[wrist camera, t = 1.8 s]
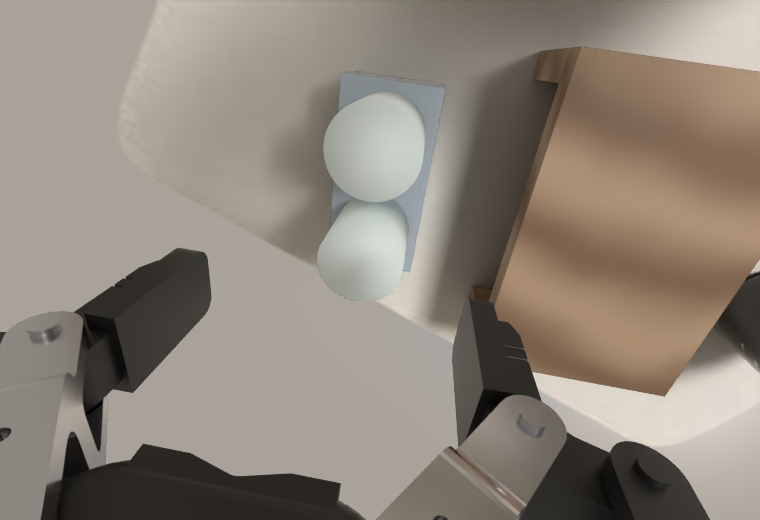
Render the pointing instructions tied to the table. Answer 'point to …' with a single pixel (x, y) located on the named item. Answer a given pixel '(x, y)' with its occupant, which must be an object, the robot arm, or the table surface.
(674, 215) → the walnut shelf
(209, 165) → the table surface
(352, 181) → the salt and pepper set
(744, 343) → the supplement bottle
